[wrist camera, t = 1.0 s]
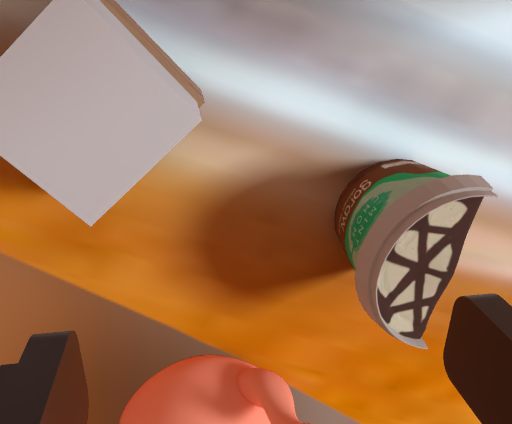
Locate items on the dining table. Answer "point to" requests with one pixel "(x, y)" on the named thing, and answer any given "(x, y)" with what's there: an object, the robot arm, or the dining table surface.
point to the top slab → (87, 107)
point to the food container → (405, 239)
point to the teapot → (212, 395)
